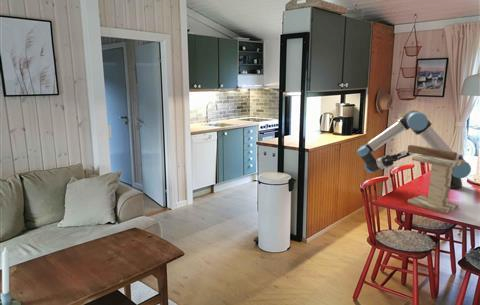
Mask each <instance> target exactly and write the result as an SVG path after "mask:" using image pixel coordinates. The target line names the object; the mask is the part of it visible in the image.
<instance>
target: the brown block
mask: <svg viewBox="0 0 480 305" xmlns="http://www.w3.org/2000/svg"><path fill="white" fill-rule="evenodd" d="M407 152H411V153H415V154H418V155H427V156H432V157H438V158H443V159H448V160H456V158H457V154H458V152H455V151H453V152H450V151H444V150H438V149H432V148H431V147H426V146H419V145H415V144H414V145H412V144H410V145H407V150H406V153H407Z"/></svg>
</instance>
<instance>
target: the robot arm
mask: <svg viewBox="0 0 480 305" xmlns="http://www.w3.org/2000/svg"><path fill="white" fill-rule="evenodd" d="M409 129H411V131H412V132H413V133H414V134H415V135H416V136H420V137H421V139H423V140H424V141H425V143H426V144H427V145H428V146H429V148H432V149H438V150H444V151H450V152H454V150H453V149H452V148H451V147H450V146H449V145H448V144H447V143H446V142H445V141H444V140H443V138H442V137H441V136H440V134H438V133H437V132H436V131H435V129H433V127H432V122H431V121H430V119H428V117H427V116H426V114H425V113H423V112H421V111H418V110H409V111H407V112H405V114H403V115H402V116H401V117H400V118H398V119H397V122H395V123H394V124H392V125H391V126H390V127H388V128H386V129H384V131H382V132H381V133H380V134H377V136H375V137H374V138H372V139H371V140H369V141H368V142H367V143H365V144H362V145H361V146H359V149H357V150H356V153H357V154H358V156H359V157H360V158H361V159H362V161H363V162H364V169H365V172H367V173H368V174H372V173H376V172H378V171H380V170H385V169H386V168H388V167H391V166H393V164H394V162H397V161H400V160H401V159H405V158H407V157H410V156H412V155H414V154H416V153H411V152H407V150H403V151H400V152H398V153H394V154H392V155H390V154H386V155H384V156H382V157H379V158H376V157H375V156H374V154H373V152H375V151H376V150H377V149H379V148H380V147H382V146H384V145H385V144H386V143H387V142H389V141H391V140H392V139H394V138H395V137H397V136H398V135H399V134H401V133H402V132H403V131H408V130H409ZM456 159H459V160H464V164H462V165H458V166H454V167H453V169H452V176H451V184H450V189H451V190H453V189H455V190H458V189H462V187H463V180H462V179H464V178H466V177H468V176H469V175H470V173H471V172H472V167H471V165H470V163H469V162H467V161H466V160H465V159H464V155H463V154H460V153H457V158H456Z"/></svg>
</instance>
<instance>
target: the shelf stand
mask: <svg viewBox="0 0 480 305" xmlns="http://www.w3.org/2000/svg"><path fill="white" fill-rule="evenodd" d="M411 158H412V159H411V161H413V162H414V161H415V162H419V163H424V164H429V165H431V166H430V167H431V169H430V174H429V175H430V177H429V186H428V195H425V194H420V195H418V196H415V197H411V198H408V199H407V204H410V205H413V206H417V207H419V208H422V209H423V208H424V209H426V210H429V211H432V212H433V211H434V212H436V213H439V214H442V215H444V214H447V213H449V212H452V211H455V210H457V209H459V204H456V203H453V202H449V197H450V190H451V188H450V184H451V176H452V169H453V167H454V166H458V165H462V164H464V160H465V159H464V160H459V159H456V160H448V159H443V158H438V157H432V156H427V155H422V154H418V155H415V156H412V157H411Z"/></svg>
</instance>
